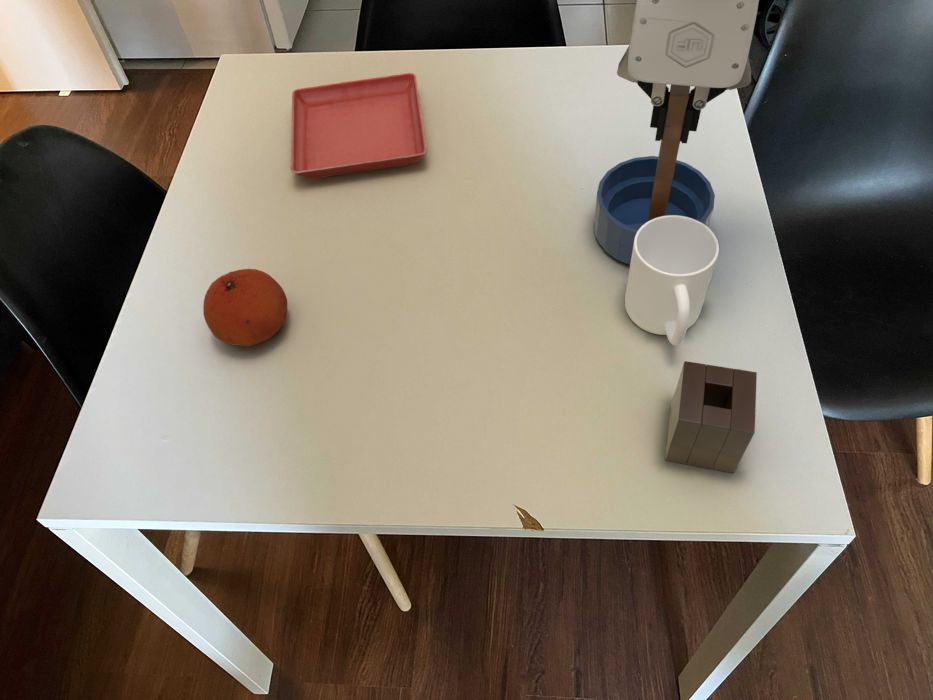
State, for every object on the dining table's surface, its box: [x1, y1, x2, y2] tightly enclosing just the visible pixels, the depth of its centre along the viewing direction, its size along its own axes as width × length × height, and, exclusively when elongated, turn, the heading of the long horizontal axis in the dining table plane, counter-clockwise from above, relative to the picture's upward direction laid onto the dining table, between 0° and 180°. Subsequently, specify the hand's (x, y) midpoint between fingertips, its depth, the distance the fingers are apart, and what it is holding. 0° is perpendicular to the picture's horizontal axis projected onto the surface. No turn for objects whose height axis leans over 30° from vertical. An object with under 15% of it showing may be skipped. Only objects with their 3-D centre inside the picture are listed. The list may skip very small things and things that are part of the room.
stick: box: [647, 85, 691, 222], centre depth 76 cm, size 2×2×20 cm
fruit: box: [202, 268, 288, 347], centre depth 80 cm, size 9×9×8 cm
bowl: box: [593, 155, 716, 266], centre depth 84 cm, size 13×13×6 cm
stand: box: [664, 360, 758, 474], centre depth 67 cm, size 6×6×8 cm
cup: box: [624, 215, 720, 347], centre depth 75 cm, size 8×12×10 cm
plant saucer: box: [290, 72, 428, 179], centre depth 100 cm, size 18×18×3 cm
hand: (672, 132), depth 72 cm, fingers closed on stick, 1 cm apart
